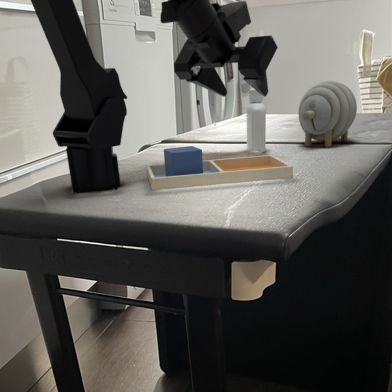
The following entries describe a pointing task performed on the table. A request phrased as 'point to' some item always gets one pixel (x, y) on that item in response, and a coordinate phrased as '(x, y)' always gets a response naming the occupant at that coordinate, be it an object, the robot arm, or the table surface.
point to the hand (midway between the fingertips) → (245, 94)
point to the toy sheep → (327, 112)
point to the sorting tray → (223, 172)
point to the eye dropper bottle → (256, 122)
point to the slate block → (183, 161)
